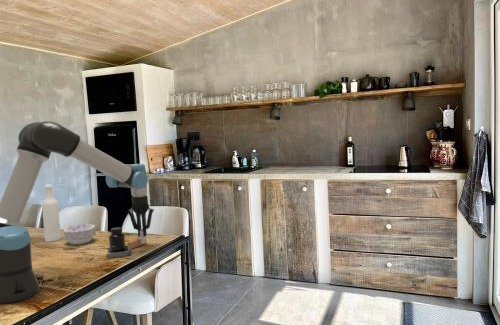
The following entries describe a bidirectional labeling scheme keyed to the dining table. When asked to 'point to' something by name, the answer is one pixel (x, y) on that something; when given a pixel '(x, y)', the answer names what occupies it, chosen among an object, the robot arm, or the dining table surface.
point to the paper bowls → (79, 233)
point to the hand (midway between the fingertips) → (142, 242)
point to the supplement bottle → (117, 240)
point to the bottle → (51, 216)
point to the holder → (127, 247)
